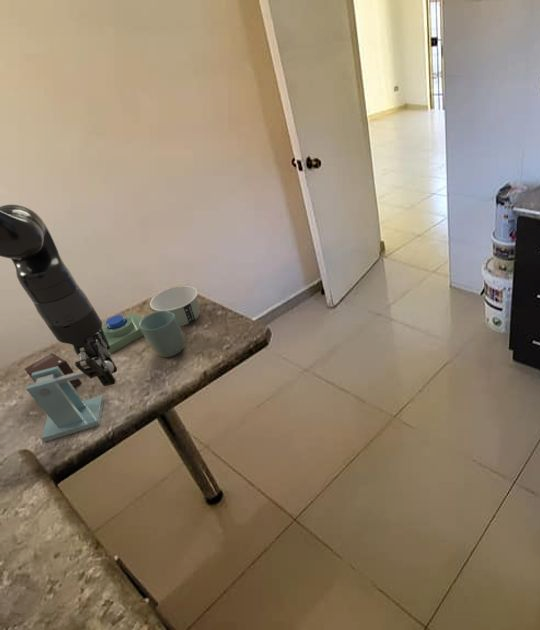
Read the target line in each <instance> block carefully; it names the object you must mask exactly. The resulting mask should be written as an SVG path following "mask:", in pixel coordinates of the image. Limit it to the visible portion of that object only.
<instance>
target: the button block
mask: <svg viewBox="0 0 540 630" xmlns="http://www.w3.org/2000/svg"><path fill="white" fill-rule="evenodd" d="M122 316H123V317H124V319H125V321H126V324H125V325H124V326H122V327H120V328H117V329H109V327H108V326H107V324H106V322H105V323H104V324H102V329H103V332H104V334H105V337H106V339H107V341H108V344H109V346H110V349H109V350H108V351H109V352H110V355H111V354H113V353H114V352H116V351H118V350H120V349H121V348H123V347H125V346H127V345H128V344H130V343H132V342H134V341H135V340H137V339H139V338H141V337H144V335H143V334H142V332H141V330H140V328H139V323H140V321H141V320H142V319H143V318H144V317H142V316H141V315H138V314H137V313H135V312H131V313H129V314H127V315H122Z"/></svg>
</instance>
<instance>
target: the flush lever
mask: <svg viewBox="0 0 540 630" xmlns="http://www.w3.org/2000/svg"><path fill="white" fill-rule="evenodd" d="M104 362H105V364H106V366H107V367H108V369H109V371H110V372H111V374H113V373H112V372H113V370H114V365H113V363H112V362H110V361H108V360H104ZM98 364H99V363H98ZM99 365H100V364H99ZM100 366H101V365H100ZM85 377H86V378H87V377H88V376H87V375H86V374H84V373H83V372H82V371H81V370H79V371H76V372H74V373H72V374H68V375H64V376H61V377H57V378H56V376H55V375H54V374H51V375H47V376H43V377H40V378H37V380H36V383H40V382H44V381H47V380H51V379H55V381H56V382H57V383H58V385H59V384H61V383H64V382H68V381H72V380H75V379H79V380H80V379H83V378H85ZM36 383H35V382H34V384H36Z"/></svg>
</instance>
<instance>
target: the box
mask: <svg viewBox="0 0 540 630" xmlns="http://www.w3.org/2000/svg"><path fill="white" fill-rule="evenodd" d="M56 366H58V367H59V368H60V369H61V371H62V372H63V374H64V375H68V374H72V373H75V372H74V370H73V368H72V367H71V366H70V364H69V363H68V362H67V361H66V360H65V359H63V358H61V357H60V356H58V355H57V354H55V353H53V352H52V353H50V354H48V355H46V356H45V357H42V358H41V359H39V360H37V361H35V362H33V363H32V364H30V365H28V366H26V367H24V371H25V372H26V373H27V374H28V376H29V377H30V378H31V379H32V380H33V382H34V384H35V383H36V381H35V380H34V379H33V377H32V376H31V375H32V373H34V372H37V371H41V370H45V369H49V368H52V367H56ZM69 382H70V383H71V384H72V386H73V387H74V388H75V389H76V387H78V386H80V385H81V384H82V380H81V379H80V378H79V379H75V380H72V381H69Z"/></svg>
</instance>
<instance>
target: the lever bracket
mask: <svg viewBox="0 0 540 630" xmlns="http://www.w3.org/2000/svg"><path fill="white" fill-rule="evenodd" d="M51 374H54V375H55V376H56V378H57V377H61V376H64V374H63V372H62V371H61V369H60V368H59V367H58V366H56V367H52V368H49V369H45V370H41V371H37V372H34V373H32V375H31V376H32V377H33V379H34V380H35V381H36V380H37V378H40V377H43V376H47V375H51ZM33 379H32V380H33ZM34 380H33V381H34ZM25 390H26V391H27V392H28V393H29V395H30V396H31V398H33V400H34V401H35V402H36V403H37V404H38V405H39V407H40V408H41V409H42V410H43V412H44V413H45V414H46V415H47V416H46V417H47V418H46V421H45V423H44V427H43V430H42V434H41V437H40V439H41V440H42V442H43V443H46V442H49V441H52V440H56V439H59V438H62V437H65V436H68V435H71V434H76V433H78V432H81V431H84V430H88V429H91V428H95V427H97V426H100V425H101V421H102V414H103V410H104V404H105V398H104V396H102V395H100V396H96V397H93V398H89V399H85V400H84V399H83V398H82V397H81V395H80V394H79V393H78V391H77V390H76V387H75V388H74V387H73V386H72V384H71V383H70V382H69V381H68V382H64V383H61V384H59V385H58V383H57V382H56V381H55V379H51V380H47V381H44V382H40V383H36V384H35V383H33V384H29V385H27V386H26V388H25Z"/></svg>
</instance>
